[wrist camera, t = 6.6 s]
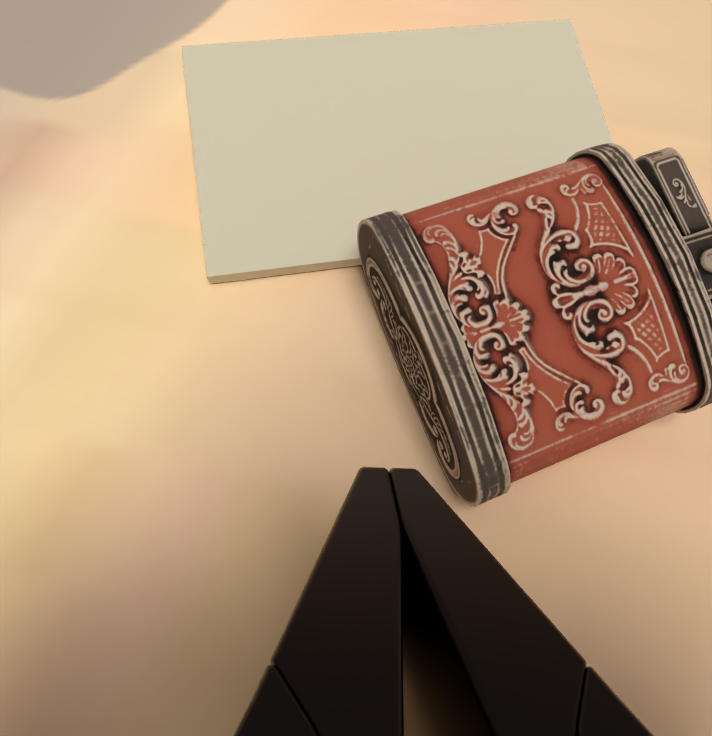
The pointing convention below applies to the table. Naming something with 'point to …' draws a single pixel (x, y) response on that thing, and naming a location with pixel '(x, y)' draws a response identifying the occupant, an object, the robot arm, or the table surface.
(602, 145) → the lighter
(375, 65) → the mat
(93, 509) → the table surface
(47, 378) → the table surface
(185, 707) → the table surface
